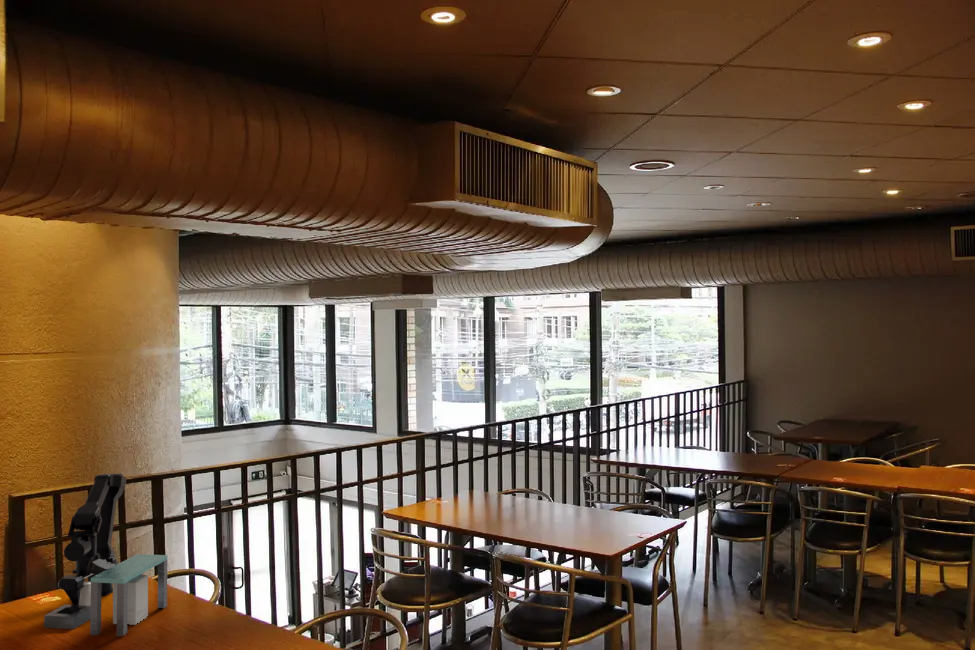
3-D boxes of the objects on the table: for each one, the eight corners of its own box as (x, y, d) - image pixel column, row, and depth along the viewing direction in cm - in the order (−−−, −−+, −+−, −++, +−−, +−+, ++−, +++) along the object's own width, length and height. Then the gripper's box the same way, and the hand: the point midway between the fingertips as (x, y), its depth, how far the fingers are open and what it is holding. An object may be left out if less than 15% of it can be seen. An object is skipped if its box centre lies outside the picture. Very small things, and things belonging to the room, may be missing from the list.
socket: (64, 616, 239) (64, 604, 239) (92, 617, 238) (93, 605, 238) (44, 627, 229) (44, 615, 229) (73, 629, 228) (73, 617, 228)
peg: (83, 606, 247) (83, 581, 247) (95, 607, 246) (95, 581, 246) (75, 611, 243) (75, 585, 243) (87, 611, 242) (87, 585, 242)
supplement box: (148, 616, 239) (149, 574, 239) (135, 625, 232) (135, 582, 232) (125, 615, 240) (126, 573, 240) (111, 624, 232) (112, 581, 232)
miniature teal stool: (137, 605, 248) (137, 554, 248) (167, 607, 247) (167, 555, 247) (90, 634, 224) (90, 578, 224) (123, 636, 223) (123, 579, 223)
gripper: (92, 561, 235) (91, 614, 235) (127, 544, 253) (127, 593, 253) (57, 560, 236) (56, 612, 236) (95, 543, 254) (94, 591, 254)
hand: (85, 602), depth 245 cm, fingers open, 9 cm apart
